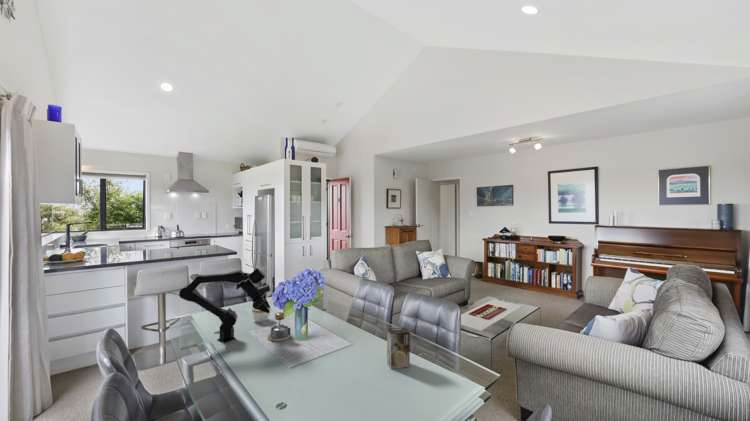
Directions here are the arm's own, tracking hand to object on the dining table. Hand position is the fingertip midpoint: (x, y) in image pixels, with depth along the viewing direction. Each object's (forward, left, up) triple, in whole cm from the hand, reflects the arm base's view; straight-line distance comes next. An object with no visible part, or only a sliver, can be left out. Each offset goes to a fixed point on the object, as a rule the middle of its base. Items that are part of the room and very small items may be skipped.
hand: (269, 310), depth 177 cm
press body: (+1, -6, -14) cm, 16 cm away
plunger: (+1, -6, -10) cm, 12 cm away
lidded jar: (+15, +22, -14) cm, 30 cm away
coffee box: (+3, -75, -14) cm, 77 cm away
